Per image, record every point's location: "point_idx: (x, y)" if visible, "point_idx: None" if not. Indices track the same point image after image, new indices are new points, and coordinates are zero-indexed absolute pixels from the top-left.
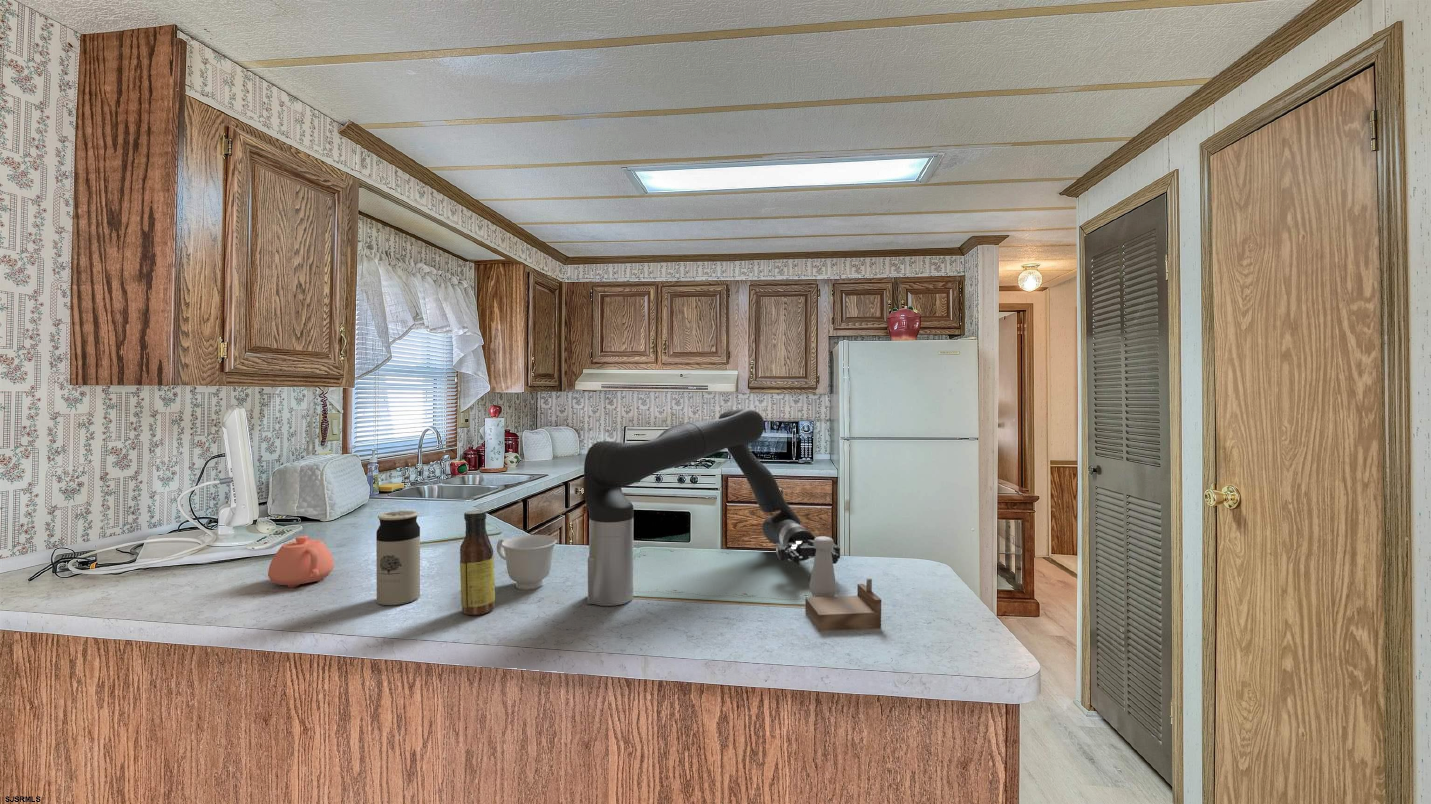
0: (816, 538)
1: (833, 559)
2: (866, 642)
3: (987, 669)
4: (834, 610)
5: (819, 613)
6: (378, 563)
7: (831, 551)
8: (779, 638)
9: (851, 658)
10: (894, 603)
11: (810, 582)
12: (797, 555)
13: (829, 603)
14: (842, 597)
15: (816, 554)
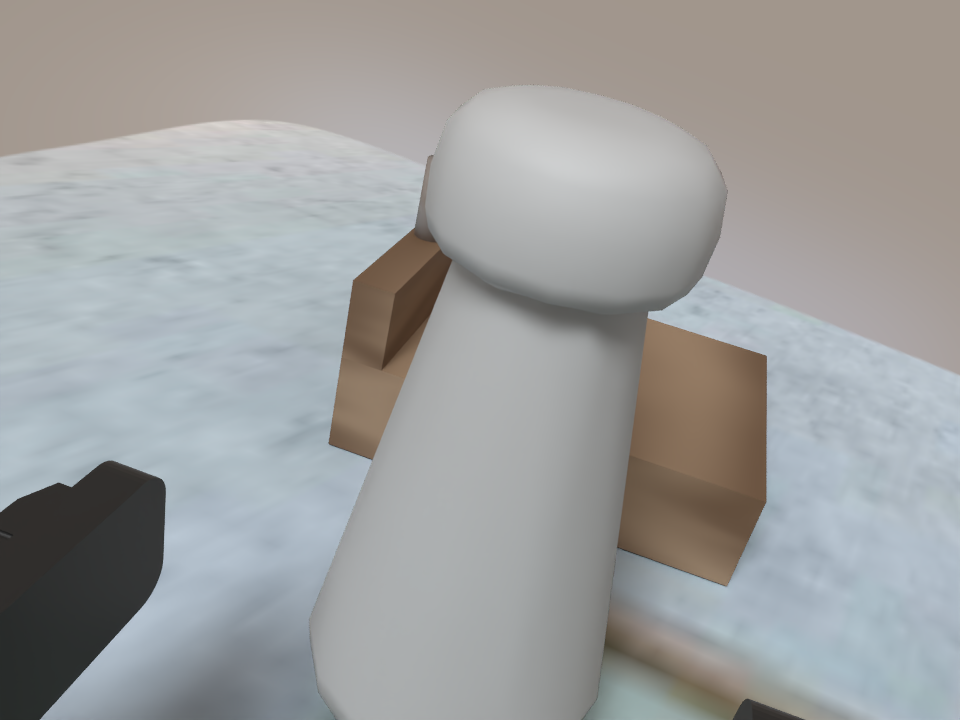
0: (704, 150)
1: (155, 539)
2: None
3: (355, 152)
4: (662, 344)
5: (758, 361)
6: None
7: (16, 571)
8: (949, 467)
9: (699, 298)
10: (21, 404)
11: (601, 654)
12: (783, 713)
13: (643, 391)
14: None
15: (636, 354)
